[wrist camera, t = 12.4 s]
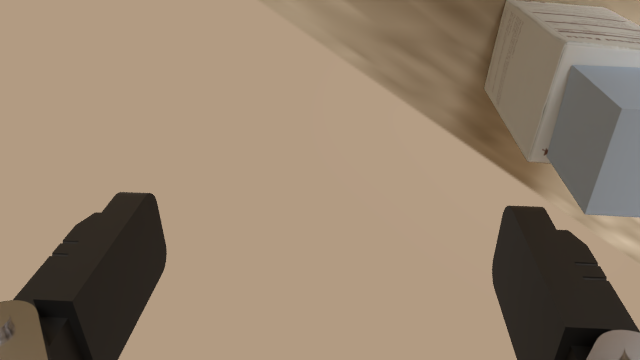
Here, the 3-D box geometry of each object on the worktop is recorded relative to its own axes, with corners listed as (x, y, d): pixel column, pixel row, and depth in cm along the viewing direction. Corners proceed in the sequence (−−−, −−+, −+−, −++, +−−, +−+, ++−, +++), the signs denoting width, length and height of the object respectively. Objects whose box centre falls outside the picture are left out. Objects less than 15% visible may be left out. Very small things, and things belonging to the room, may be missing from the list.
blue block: (572, 64, 27) (621, 108, 22) (679, 69, 26) (755, 114, 21) (546, 156, 30) (584, 214, 24) (643, 161, 29) (702, 220, 24)
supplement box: (573, 99, 41) (648, 178, 30) (480, 89, 41) (522, 164, 30) (607, 4, 37) (708, 56, 26) (505, -6, 37) (564, 41, 26)
